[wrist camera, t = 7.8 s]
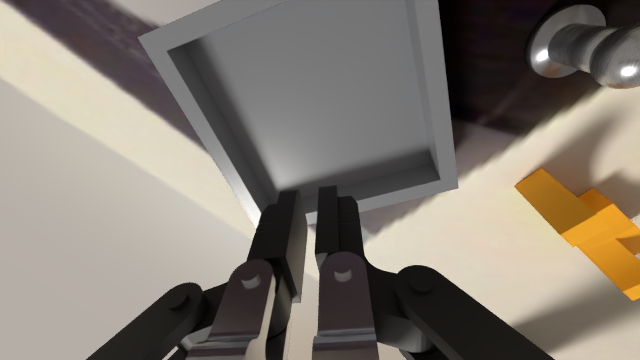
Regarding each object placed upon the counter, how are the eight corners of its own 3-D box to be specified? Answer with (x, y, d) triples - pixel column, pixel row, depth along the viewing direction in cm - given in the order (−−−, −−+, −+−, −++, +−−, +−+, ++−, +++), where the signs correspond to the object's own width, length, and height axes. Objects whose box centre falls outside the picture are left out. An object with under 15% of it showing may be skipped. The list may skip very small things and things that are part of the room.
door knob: (591, 63, 20) (700, 92, 14) (523, 83, 21) (600, 119, 15) (601, -7, 18) (736, -8, 12) (525, 19, 19) (615, 30, 13)
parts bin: (443, 165, 25) (458, 188, 22) (268, 211, 29) (260, 236, 26) (410, -77, 17) (427, -92, 14) (165, 31, 20) (137, 37, 17)
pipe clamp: (623, 221, 28) (692, 275, 23) (578, 245, 30) (632, 301, 25) (559, 152, 24) (625, 198, 19) (513, 185, 26) (560, 235, 21)
